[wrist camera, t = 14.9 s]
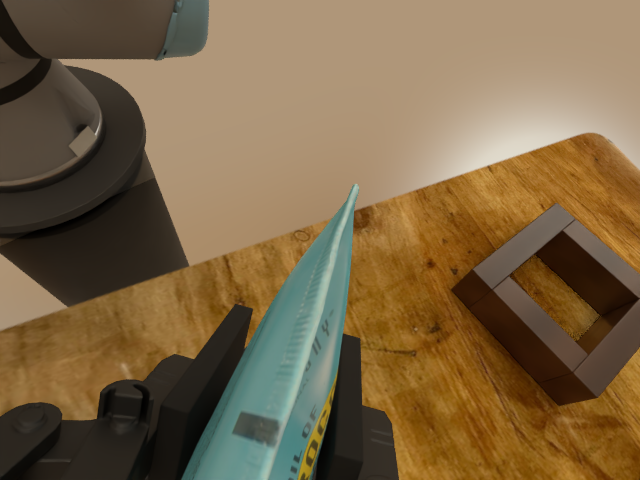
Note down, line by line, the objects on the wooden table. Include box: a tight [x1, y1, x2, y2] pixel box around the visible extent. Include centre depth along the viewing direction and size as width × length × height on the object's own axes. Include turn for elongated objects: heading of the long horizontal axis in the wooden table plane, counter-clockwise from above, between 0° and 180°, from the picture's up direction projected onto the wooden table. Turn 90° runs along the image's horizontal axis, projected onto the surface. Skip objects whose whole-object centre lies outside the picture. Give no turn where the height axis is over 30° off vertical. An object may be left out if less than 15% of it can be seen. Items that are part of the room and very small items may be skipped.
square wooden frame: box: [451, 203, 640, 406], centre depth 39 cm, size 14×14×5 cm
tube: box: [181, 184, 359, 480], centre depth 13 cm, size 7×5×19 cm, turn 166°
